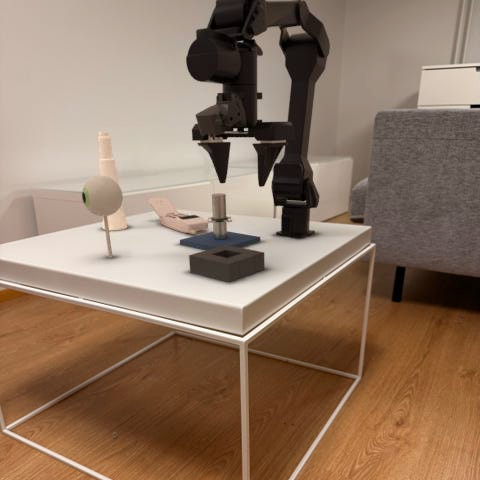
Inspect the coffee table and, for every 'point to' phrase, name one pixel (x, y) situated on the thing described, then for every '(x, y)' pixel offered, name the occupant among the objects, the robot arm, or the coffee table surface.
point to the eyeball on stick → (102, 200)
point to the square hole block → (226, 262)
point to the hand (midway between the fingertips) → (241, 184)
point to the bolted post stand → (219, 216)
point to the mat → (209, 242)
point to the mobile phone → (177, 217)
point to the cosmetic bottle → (109, 170)
